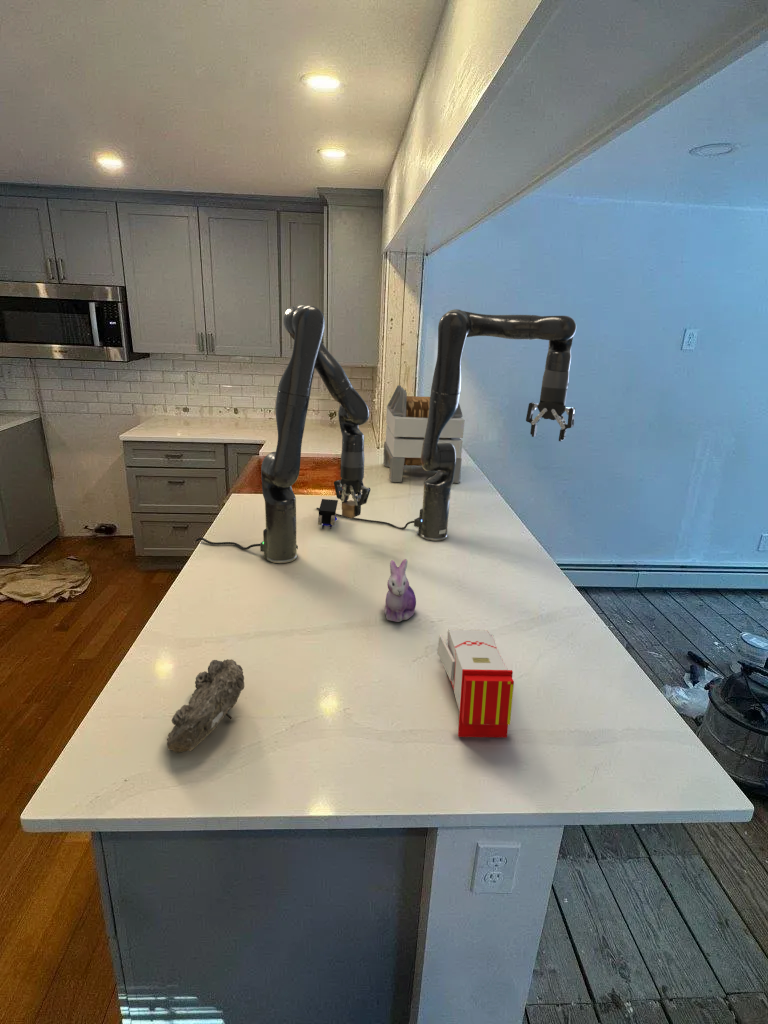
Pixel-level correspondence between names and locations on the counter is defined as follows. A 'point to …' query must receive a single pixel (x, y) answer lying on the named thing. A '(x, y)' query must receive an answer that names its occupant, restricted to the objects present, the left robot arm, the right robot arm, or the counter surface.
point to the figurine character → (327, 513)
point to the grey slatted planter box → (415, 433)
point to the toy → (478, 682)
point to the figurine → (399, 594)
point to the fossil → (206, 705)
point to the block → (348, 509)
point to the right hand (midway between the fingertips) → (547, 438)
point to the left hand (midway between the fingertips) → (351, 513)
